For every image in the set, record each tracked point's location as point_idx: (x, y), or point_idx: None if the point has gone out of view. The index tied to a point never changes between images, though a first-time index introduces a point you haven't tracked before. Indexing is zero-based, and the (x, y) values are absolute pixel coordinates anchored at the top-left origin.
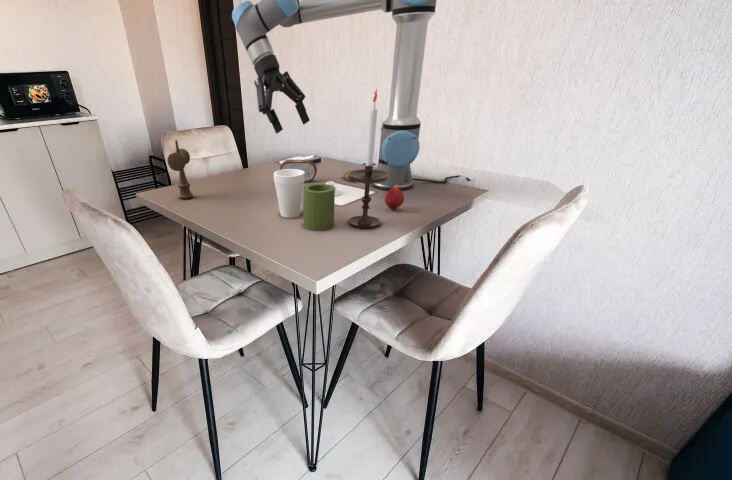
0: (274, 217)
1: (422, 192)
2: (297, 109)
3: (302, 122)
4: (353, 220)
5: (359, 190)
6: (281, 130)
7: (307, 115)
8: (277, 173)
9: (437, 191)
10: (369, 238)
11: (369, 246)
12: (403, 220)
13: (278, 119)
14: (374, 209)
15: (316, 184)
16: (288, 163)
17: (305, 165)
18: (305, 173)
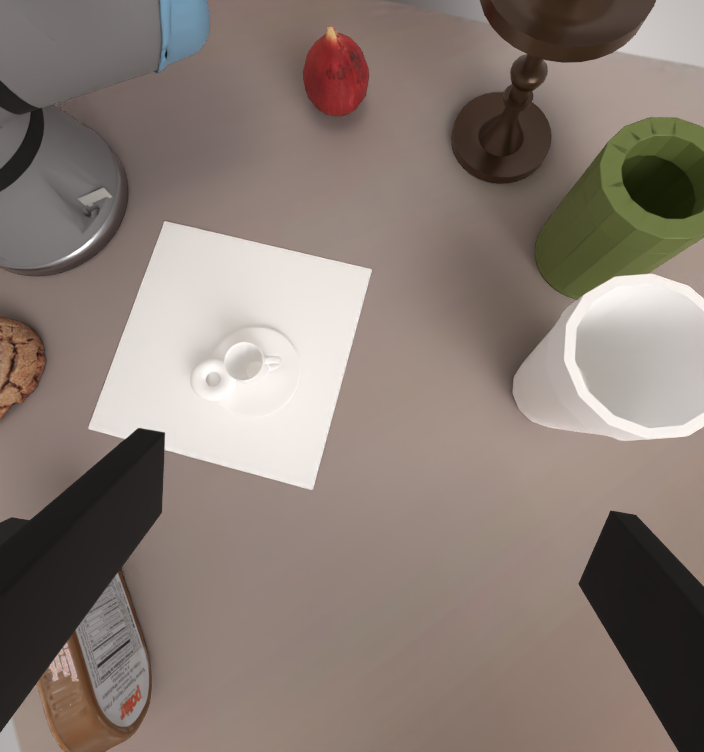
0: None
1: None
2: (41, 662)
3: (148, 527)
4: (509, 166)
5: (164, 283)
6: (603, 531)
7: (110, 458)
8: (660, 426)
9: None
10: (593, 92)
11: (643, 74)
12: (412, 60)
13: (688, 599)
14: (357, 160)
15: (630, 208)
16: (96, 696)
17: None
18: None
